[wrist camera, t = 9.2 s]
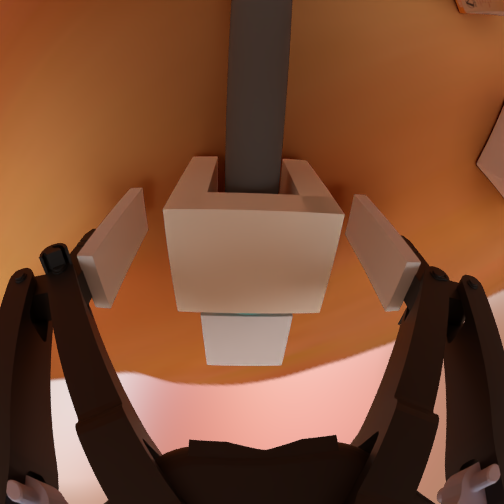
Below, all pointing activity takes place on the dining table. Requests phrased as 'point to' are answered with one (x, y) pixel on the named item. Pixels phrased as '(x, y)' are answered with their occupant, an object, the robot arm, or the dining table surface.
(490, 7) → the supplement box
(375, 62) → the dining table surface
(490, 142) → the milk carton
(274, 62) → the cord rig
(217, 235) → the sleeve
